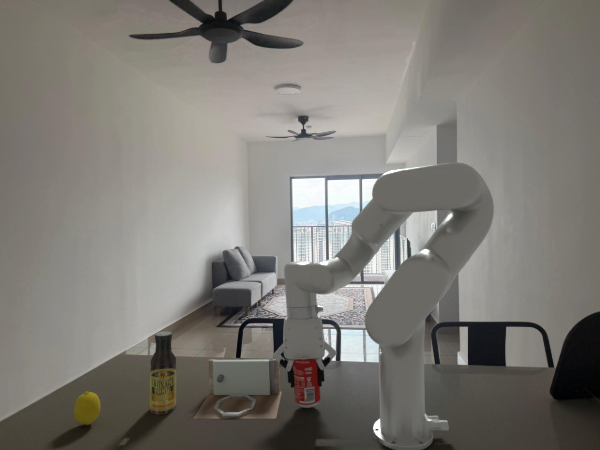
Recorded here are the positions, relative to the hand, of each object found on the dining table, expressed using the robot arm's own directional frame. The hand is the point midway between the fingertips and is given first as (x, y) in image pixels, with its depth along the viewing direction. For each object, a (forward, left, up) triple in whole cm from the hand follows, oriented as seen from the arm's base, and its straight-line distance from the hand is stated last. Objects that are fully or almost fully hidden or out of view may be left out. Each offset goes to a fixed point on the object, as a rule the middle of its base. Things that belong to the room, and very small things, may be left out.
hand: (306, 384), depth 96 cm
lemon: (+52, +6, -7) cm, 53 cm away
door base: (+17, -2, -7) cm, 18 cm away
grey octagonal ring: (+18, 0, -6) cm, 19 cm away
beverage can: (0, 0, -5) cm, 5 cm away
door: (+17, -6, -6) cm, 19 cm away
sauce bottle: (+36, 0, -7) cm, 37 cm away
